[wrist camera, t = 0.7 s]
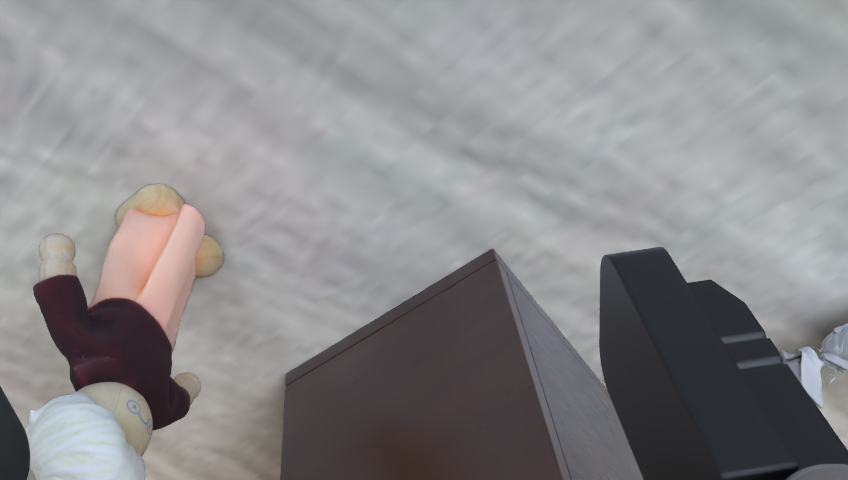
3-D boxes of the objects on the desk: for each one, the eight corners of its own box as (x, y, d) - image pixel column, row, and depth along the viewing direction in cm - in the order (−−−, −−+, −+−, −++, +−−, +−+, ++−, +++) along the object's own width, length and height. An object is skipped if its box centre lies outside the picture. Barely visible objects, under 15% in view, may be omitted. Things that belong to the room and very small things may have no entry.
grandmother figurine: (268, 260, 32) (240, 532, 22) (198, 308, 33) (139, 590, 23) (121, 123, 28) (1, 376, 18) (46, 183, 29) (-109, 454, 19)
